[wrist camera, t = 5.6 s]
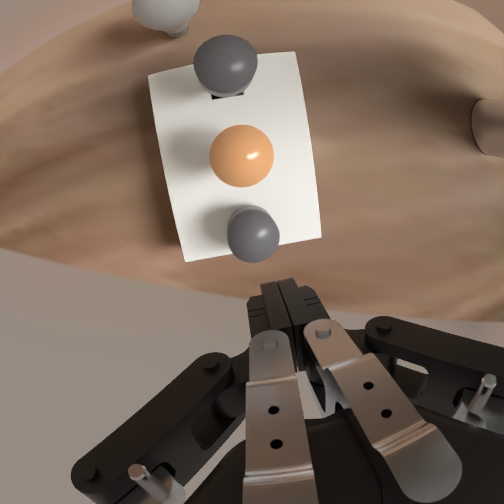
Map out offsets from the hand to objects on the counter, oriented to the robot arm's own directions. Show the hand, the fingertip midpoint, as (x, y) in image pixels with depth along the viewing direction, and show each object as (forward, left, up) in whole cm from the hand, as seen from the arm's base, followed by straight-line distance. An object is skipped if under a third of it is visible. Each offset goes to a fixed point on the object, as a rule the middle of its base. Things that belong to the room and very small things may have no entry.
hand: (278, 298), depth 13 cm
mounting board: (0, -6, -21) cm, 22 cm away
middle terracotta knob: (0, -6, -17) cm, 18 cm away
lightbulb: (+4, -22, -21) cm, 31 cm away
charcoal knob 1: (0, -13, -17) cm, 22 cm away
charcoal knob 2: (0, +1, -20) cm, 20 cm away
